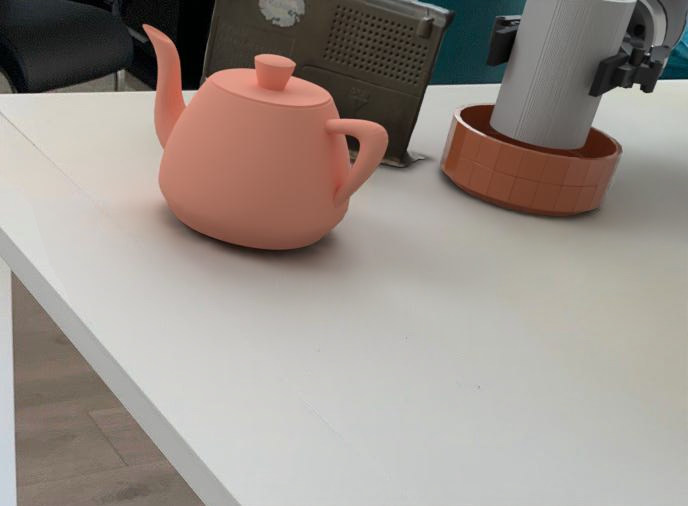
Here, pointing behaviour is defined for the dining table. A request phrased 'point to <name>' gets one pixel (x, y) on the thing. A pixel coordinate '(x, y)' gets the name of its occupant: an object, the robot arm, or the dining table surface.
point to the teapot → (257, 152)
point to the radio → (341, 55)
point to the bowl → (527, 167)
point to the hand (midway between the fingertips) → (545, 64)
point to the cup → (558, 70)
